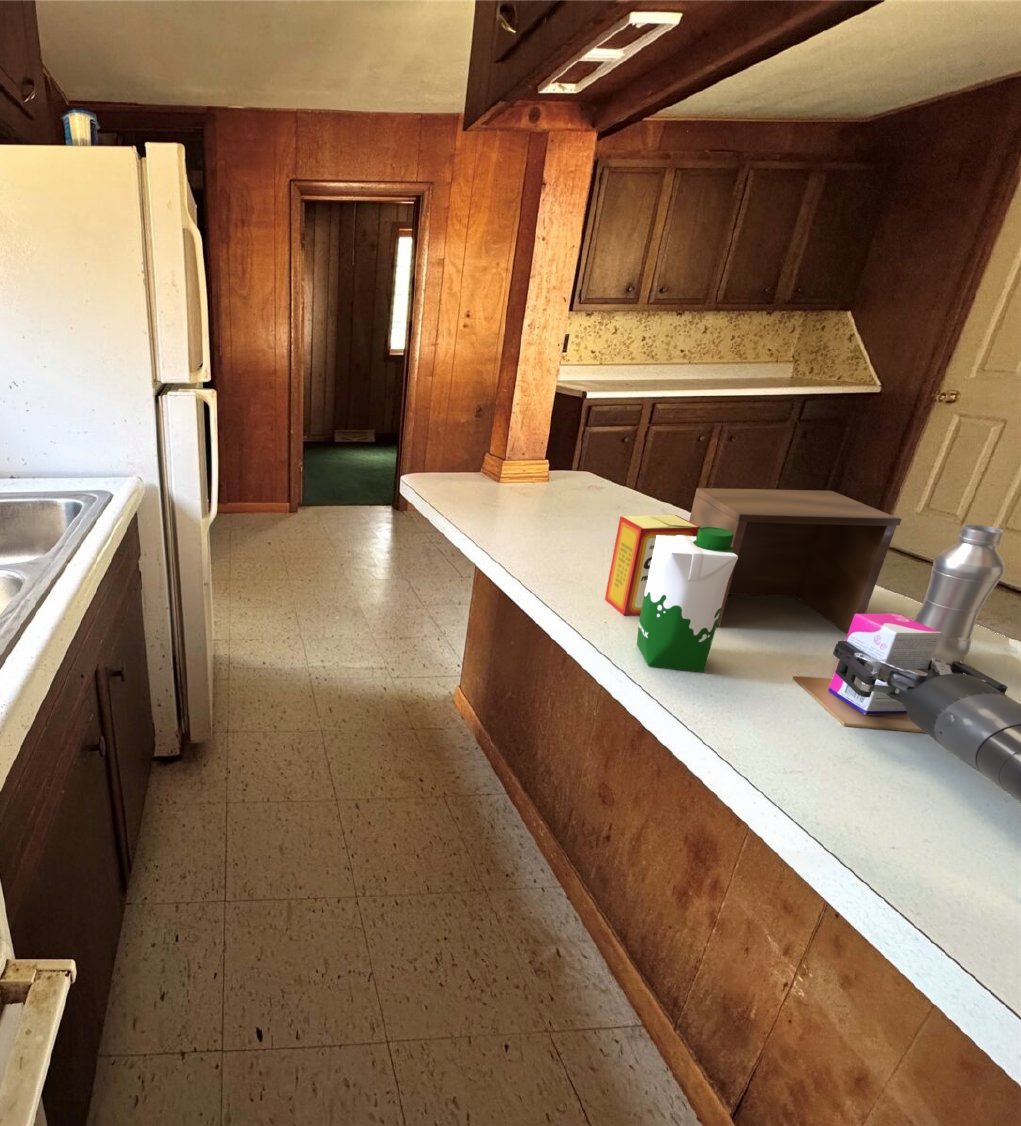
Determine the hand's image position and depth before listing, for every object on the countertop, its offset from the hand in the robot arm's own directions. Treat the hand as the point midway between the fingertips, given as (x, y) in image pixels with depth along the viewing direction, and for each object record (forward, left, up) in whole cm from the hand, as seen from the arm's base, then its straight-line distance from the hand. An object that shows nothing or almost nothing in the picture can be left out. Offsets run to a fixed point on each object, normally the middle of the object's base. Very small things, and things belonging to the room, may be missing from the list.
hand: (871, 648), depth 80 cm
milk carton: (+20, -7, -7) cm, 22 cm away
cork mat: (0, +2, -7) cm, 7 cm away
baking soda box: (+18, -25, -7) cm, 31 cm away
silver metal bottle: (-16, -12, -7) cm, 21 cm away
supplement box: (0, +2, -7) cm, 7 cm away
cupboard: (-1, -26, -7) cm, 27 cm away
